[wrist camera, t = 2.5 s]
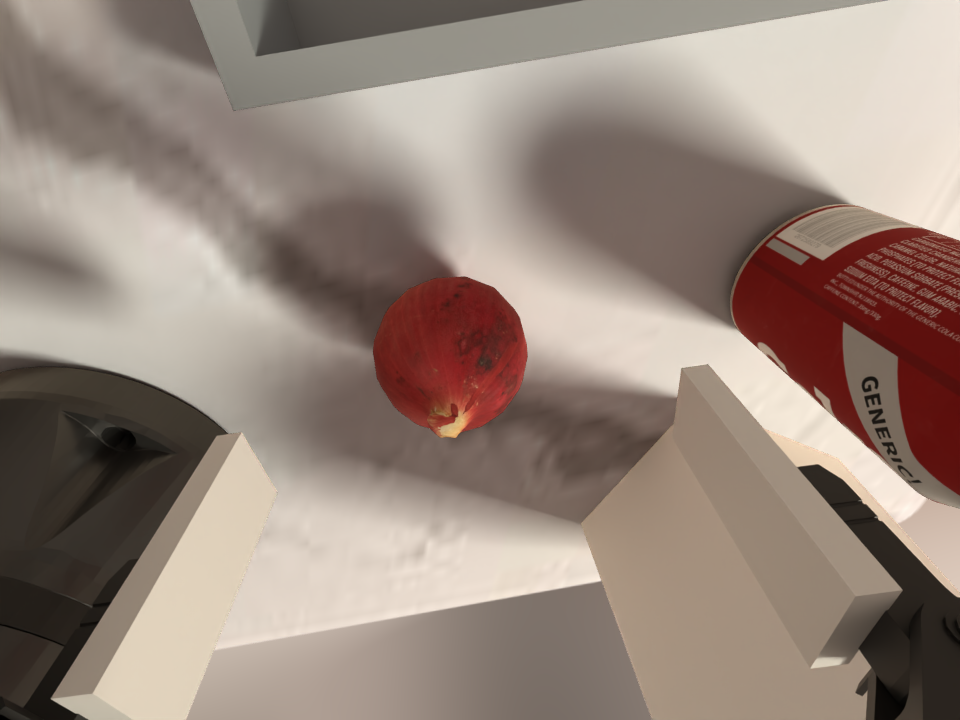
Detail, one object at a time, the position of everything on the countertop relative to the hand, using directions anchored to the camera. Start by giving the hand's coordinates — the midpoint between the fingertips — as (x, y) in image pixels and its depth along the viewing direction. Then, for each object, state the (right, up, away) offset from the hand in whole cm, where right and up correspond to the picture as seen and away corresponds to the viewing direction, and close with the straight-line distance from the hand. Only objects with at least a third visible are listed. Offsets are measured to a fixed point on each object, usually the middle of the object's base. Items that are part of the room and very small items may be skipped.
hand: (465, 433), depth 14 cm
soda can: (+15, +6, +7) cm, 18 cm away
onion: (-1, +5, +7) cm, 8 cm away
